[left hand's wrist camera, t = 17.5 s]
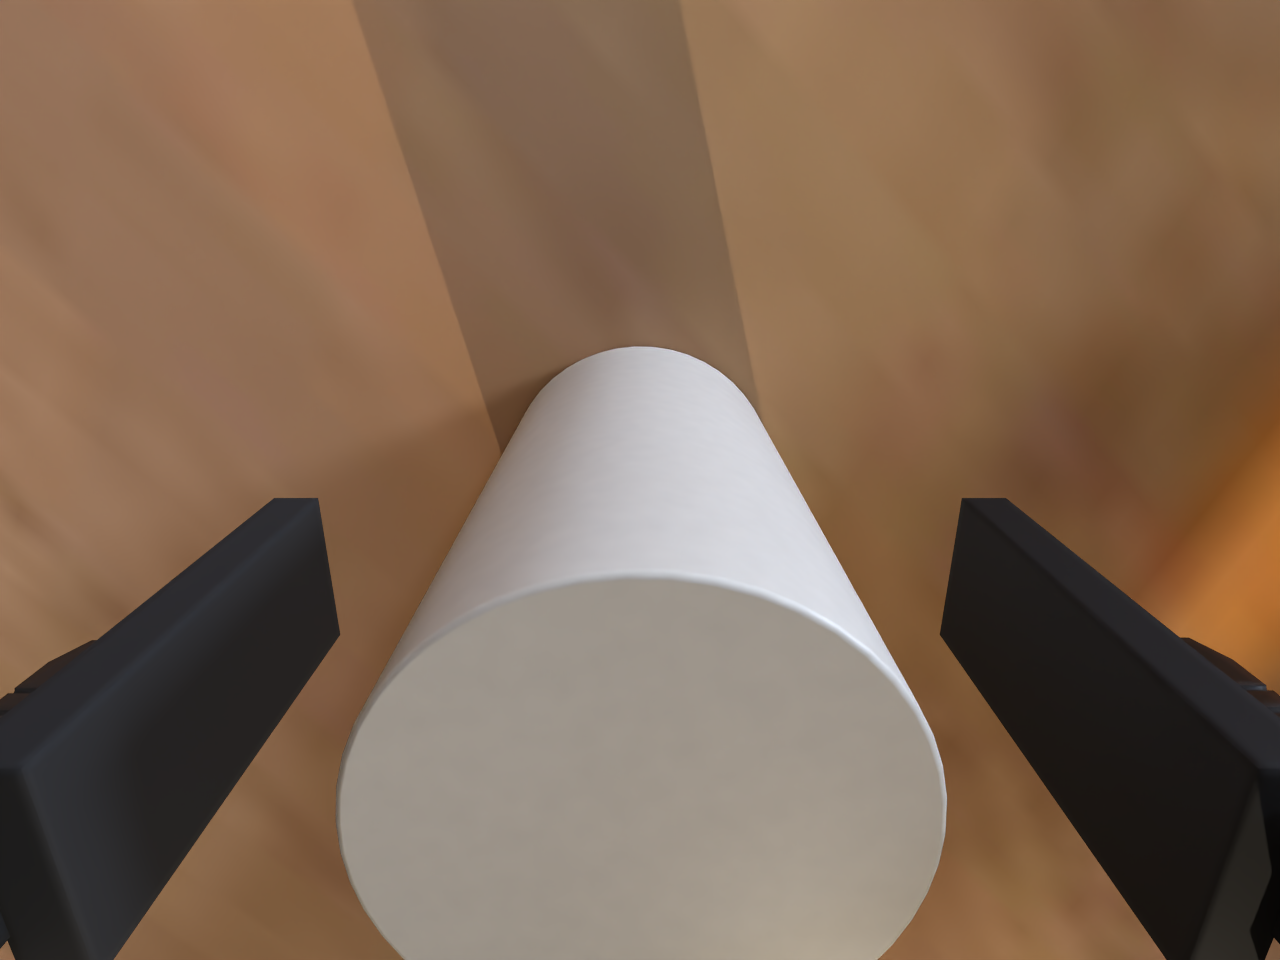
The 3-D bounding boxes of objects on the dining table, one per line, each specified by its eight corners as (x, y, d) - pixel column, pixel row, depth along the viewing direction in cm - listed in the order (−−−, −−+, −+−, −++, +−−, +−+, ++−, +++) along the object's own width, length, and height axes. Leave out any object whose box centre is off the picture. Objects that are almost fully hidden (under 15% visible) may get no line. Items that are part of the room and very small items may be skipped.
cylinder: (732, 310, 16) (886, 487, 6) (796, 551, 18) (992, 986, 8) (472, 392, 17) (218, 675, 7) (561, 616, 19) (471, 1094, 9)
